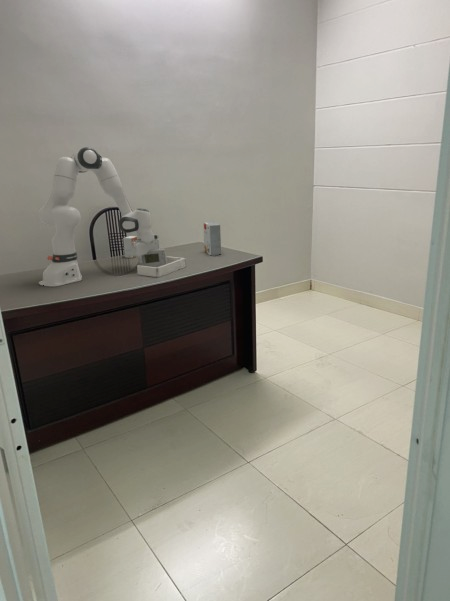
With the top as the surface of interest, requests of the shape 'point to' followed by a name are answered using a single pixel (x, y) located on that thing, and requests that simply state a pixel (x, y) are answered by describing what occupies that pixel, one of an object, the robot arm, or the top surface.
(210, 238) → the hard drive box
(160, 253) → the digital clock
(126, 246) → the small box
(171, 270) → the bin
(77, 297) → the top surface
